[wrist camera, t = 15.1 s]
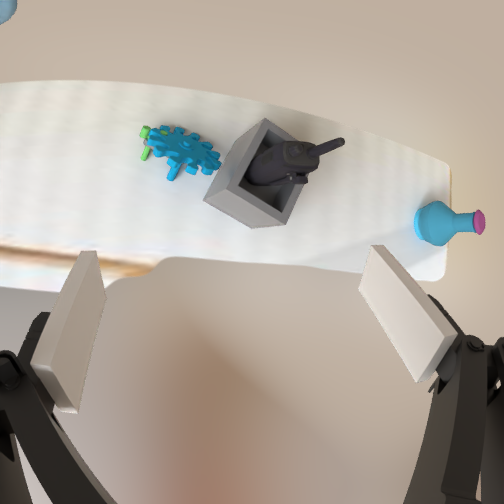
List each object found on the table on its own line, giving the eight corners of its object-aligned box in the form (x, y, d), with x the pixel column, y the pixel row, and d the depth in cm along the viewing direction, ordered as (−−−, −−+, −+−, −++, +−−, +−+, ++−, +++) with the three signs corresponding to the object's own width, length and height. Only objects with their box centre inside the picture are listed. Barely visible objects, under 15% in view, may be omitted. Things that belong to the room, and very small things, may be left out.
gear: (230, 147, 42) (214, 177, 34) (211, 180, 46) (192, 215, 38) (161, 111, 40) (129, 132, 32) (146, 146, 43) (114, 174, 35)
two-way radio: (279, 161, 40) (355, 128, 27) (282, 195, 41) (361, 175, 27) (239, 160, 38) (304, 120, 24) (241, 196, 38) (310, 172, 25)
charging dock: (202, 200, 43) (225, 188, 33) (235, 141, 44) (264, 117, 35) (253, 229, 46) (288, 226, 37) (281, 171, 47) (319, 156, 38)
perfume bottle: (431, 200, 62) (487, 194, 48) (436, 241, 63) (492, 241, 49) (407, 205, 59) (468, 199, 45) (413, 250, 60) (474, 252, 46)
